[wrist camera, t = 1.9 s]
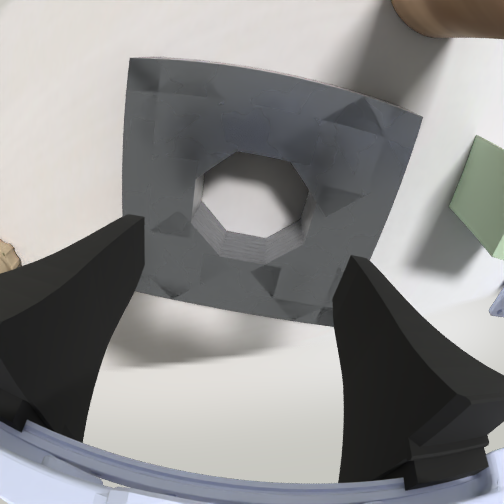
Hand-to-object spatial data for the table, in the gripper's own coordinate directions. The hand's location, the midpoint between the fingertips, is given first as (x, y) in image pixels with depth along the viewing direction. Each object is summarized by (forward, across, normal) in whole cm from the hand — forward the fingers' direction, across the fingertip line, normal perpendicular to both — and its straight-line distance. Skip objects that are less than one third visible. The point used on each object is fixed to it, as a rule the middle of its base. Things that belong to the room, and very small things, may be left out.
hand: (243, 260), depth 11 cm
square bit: (+6, -13, -4) cm, 15 cm away
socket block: (+6, 0, 0) cm, 6 cm away
